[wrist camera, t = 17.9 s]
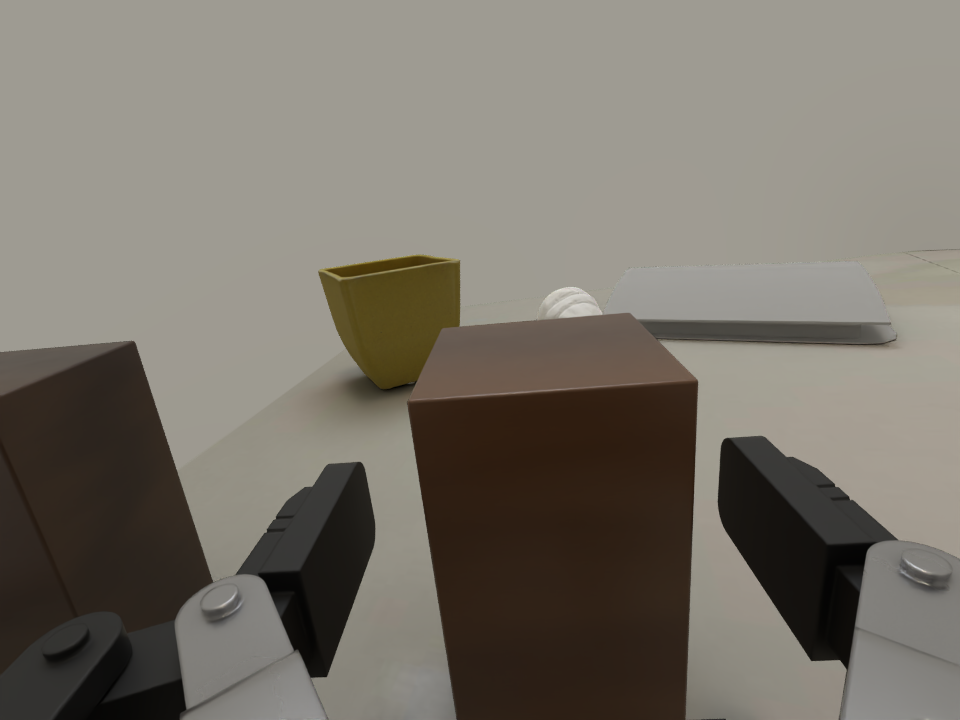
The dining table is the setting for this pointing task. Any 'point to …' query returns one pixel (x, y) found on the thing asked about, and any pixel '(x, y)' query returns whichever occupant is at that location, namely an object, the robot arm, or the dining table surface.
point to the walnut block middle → (559, 516)
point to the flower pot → (393, 312)
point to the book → (756, 302)
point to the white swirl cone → (568, 304)
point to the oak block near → (88, 496)
